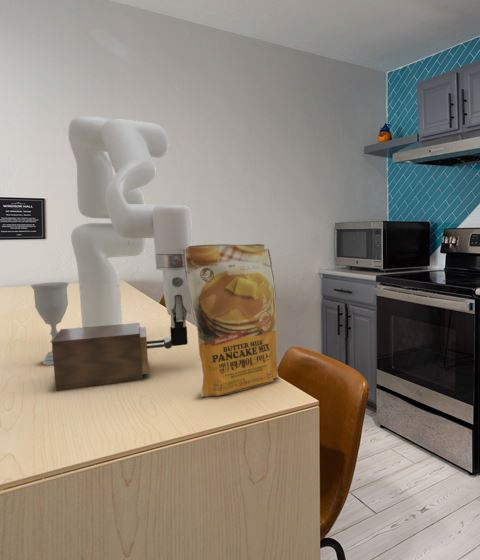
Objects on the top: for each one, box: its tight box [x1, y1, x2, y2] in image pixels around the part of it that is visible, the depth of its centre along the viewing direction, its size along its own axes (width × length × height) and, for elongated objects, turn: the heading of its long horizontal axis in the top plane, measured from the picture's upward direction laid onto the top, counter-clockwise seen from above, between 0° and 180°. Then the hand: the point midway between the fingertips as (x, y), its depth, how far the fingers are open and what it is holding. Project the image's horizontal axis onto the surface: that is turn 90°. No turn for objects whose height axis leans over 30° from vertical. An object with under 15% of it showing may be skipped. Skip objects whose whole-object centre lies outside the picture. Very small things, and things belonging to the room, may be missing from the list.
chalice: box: [30, 281, 70, 366], centre depth 116 cm, size 7×7×18 cm
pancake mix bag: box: [183, 243, 280, 398], centre depth 98 cm, size 7×19×28 cm, turn 138°
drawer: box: [140, 326, 173, 375], centre depth 107 cm, size 18×11×8 cm, turn 119°
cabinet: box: [51, 322, 143, 391], centre depth 105 cm, size 15×13×10 cm
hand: (179, 344), depth 112 cm, fingers closed
